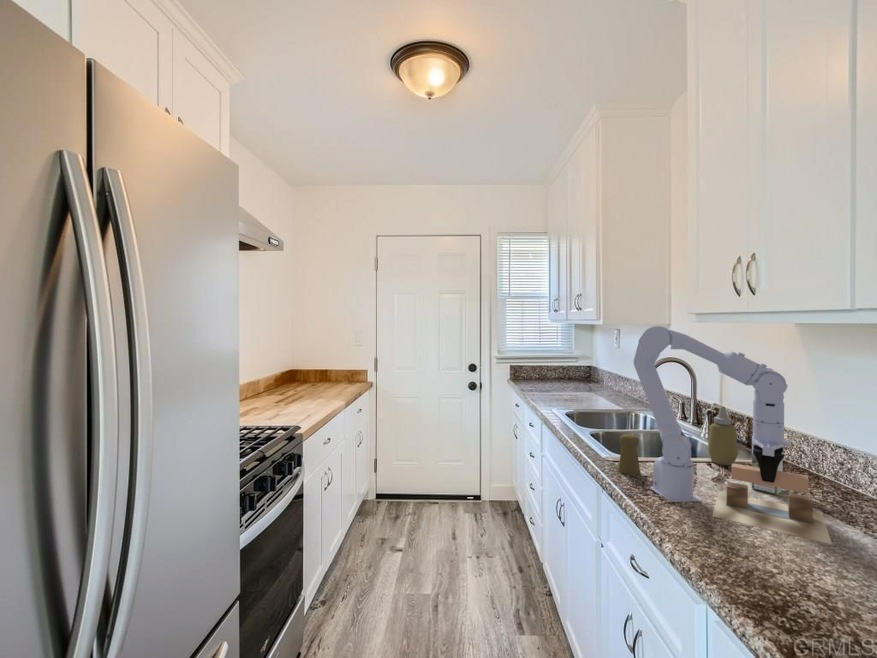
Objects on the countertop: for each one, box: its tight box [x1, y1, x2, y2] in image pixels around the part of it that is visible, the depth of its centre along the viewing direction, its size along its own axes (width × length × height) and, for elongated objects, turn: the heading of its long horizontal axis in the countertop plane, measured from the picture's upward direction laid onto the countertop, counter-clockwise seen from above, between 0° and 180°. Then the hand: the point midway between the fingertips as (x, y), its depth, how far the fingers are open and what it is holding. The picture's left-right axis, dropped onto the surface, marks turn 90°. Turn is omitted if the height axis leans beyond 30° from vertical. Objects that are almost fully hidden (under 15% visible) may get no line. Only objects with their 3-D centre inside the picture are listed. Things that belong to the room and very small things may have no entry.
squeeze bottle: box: [707, 405, 739, 466], centre depth 134 cm, size 8×8×18 cm
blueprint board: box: [712, 481, 833, 545], centre depth 97 cm, size 20×18×5 cm
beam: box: [730, 463, 810, 494], centre depth 99 cm, size 14×3×3 cm, turn 52°
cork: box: [617, 433, 641, 476], centre depth 127 cm, size 6×6×11 cm
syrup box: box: [751, 435, 784, 496], centre depth 113 cm, size 6×6×14 cm
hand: (767, 479), depth 99 cm, fingers closed on beam, 3 cm apart
